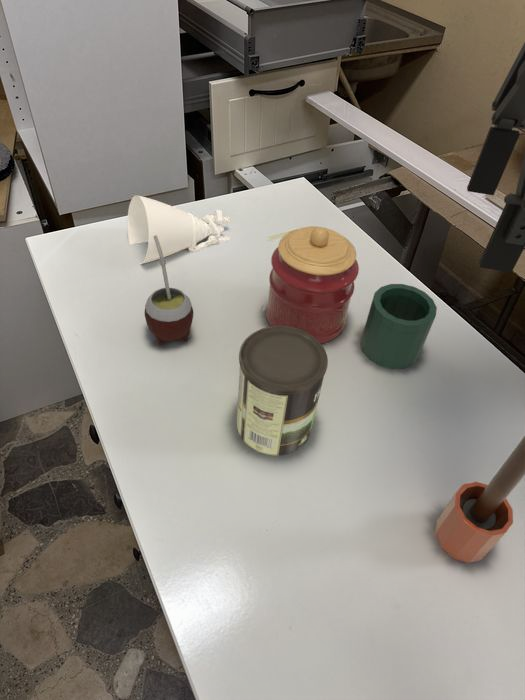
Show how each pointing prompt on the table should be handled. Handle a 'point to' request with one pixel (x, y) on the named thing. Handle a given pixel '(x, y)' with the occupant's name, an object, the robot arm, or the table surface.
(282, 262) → the kitchen canister
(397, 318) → the jar
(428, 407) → the table surface
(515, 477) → the brush
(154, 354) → the table surface
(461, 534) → the holder
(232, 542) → the table surface
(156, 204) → the rocket engine
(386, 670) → the table surface
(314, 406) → the coffee can
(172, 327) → the mate gourd
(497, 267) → the robot arm
